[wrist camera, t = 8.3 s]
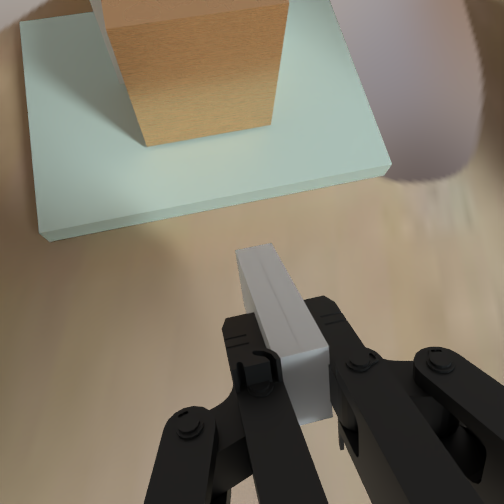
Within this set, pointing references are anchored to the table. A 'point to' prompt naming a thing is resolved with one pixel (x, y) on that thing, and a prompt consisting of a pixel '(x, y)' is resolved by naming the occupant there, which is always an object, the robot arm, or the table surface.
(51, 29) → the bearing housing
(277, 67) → the cardboard box
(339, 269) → the table surface
